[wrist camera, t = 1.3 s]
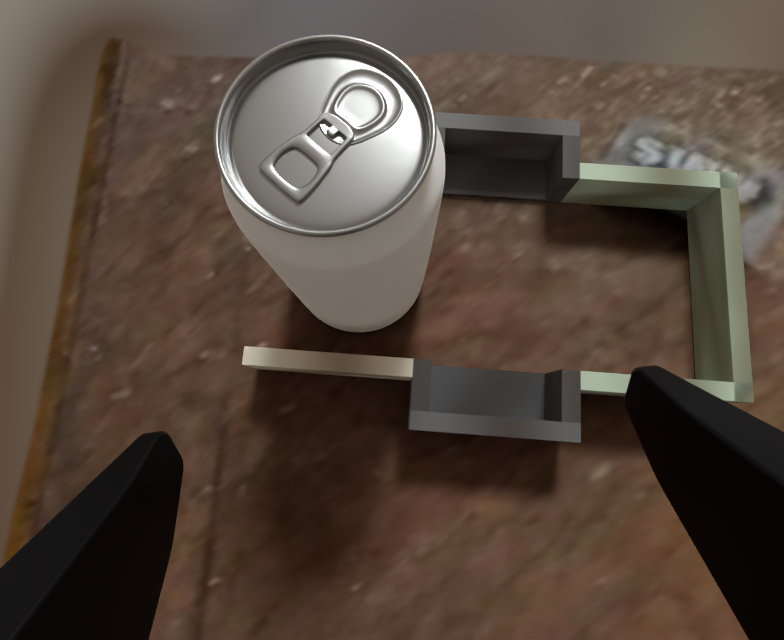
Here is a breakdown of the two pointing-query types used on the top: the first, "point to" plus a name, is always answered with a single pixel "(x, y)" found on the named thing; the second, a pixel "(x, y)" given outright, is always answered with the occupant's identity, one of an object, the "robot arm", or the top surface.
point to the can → (334, 174)
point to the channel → (569, 185)
